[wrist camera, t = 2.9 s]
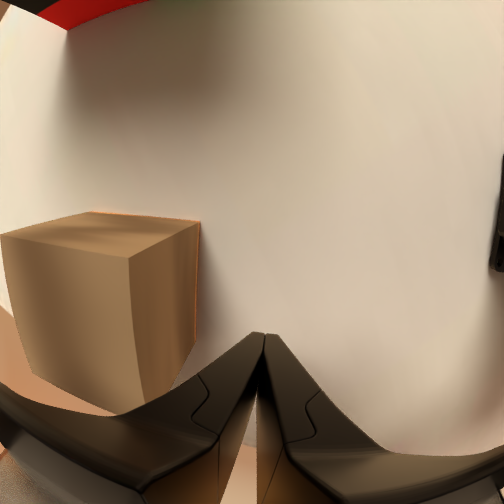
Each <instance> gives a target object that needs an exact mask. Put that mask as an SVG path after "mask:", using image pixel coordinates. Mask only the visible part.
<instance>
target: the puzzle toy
mask: <svg viewBox="0 0 504 504" xmlns="http://www.w3.org/2000/svg"><path fill="white" fill-rule="evenodd" d="M2 1H5V2H7V3H9V4H12V5H14V6H17V7H19V8H21V9H24V10H26V11H28V12H31V13H33V14H35V15H37V16H39V17H41V18H43V19H45V20H48V21H50V22H52V23H54V24H56V25H58V26H60V27H61V28H63V29H65V30H69V29H71V28H74V27H76V26H78V25H80V24H82V23H85V22H87V21H89V20H92V19H94V18H97V17H99V16H102V15H104V14H107V13H110V12H113V11H115V10H118V9H121V8H124V7H127V6H131V5H134V4H137V3H141V2H144V1H148V0H2Z"/></svg>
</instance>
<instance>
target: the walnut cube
mask: <svg viewBox="0 0 504 504" xmlns="http://www.w3.org/2000/svg"><path fill="white" fill-rule="evenodd" d="M199 229H200V221H191V220H181V219H171V218H161V217H150V216H140V215H128V214H117V213H104V212H92V211H91V212H86V213H81V214H77V215H73V216H68V217H64V218H60V219H56V220H52V221H48V222H44V223H40V224H36V225H32V226H28V227H25V228H21V229H18V230H14V231H11V232H7V233H4V234H0V240H1V249H2V257H3V265H4V271H5V277H6V283H7V288H8V293H9V298H10V302H11V306H12V311H13V315H14V318H15V321H16V326H17V329H18V333H19V336H20V339H21V342H22V345H23V348H24V351H25V354H26V357H27V360H28V363H29V365H30V368H31V370H32V372H33V373H34V374H35V375H37V376H39V377H40V378H42V379H44V380H46V381H47V382H49V383H51V384H53V385H55V386H56V387H58V388H60V389H62V390H64V391H66V392H68V393H70V394H72V395H74V396H76V397H78V398H80V399H82V400H84V401H86V402H88V403H91V404H93V405H95V406H97V407H100V408H102V409H104V410H107V411H109V412H112V413H114V414H117V415H120V414H124V413H126V412H129V411H131V410H133V409H135V408H137V407H139V406H141V405H144V404H146V403H148V402H150V401H152V400H154V399H156V398H158V397H160V396H162V395H164V394H166V393H167V392H169V390H170V388H171V386H172V384H173V382H174V381H175V379H176V377H177V375H178V373H179V371H180V369H181V368H182V366H183V364H184V362H185V360H186V358H187V356H188V355H189V353H190V351H191V349H192V347H193V345H194V344H195V342H196V294H197V267H198V246H199Z"/></svg>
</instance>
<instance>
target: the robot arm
mask: <svg viewBox="0 0 504 504" xmlns="http://www.w3.org/2000/svg"><path fill="white" fill-rule="evenodd" d="M497 261H498V263H497ZM490 266H491V268H492V269H494V270H496V271H498V272H504V156H503V179H502V192H501V201H500V210H499V217H498V223H497V229H496V235H495V240H494V245H493V250H492V255H491V259H490ZM258 381H259V382H258ZM257 388H258V389H257ZM256 394H257V398H256ZM255 398H256V423H257V504H504V496H503V494H502V492H501V489H502V488H503V487H504V445H502V446H499V447H496V448H494V449H492V450H489V451H487V452H484V453H479V454H474V455H466V456H424V455H408V454H398V453H394V452H390V451H388V450H386V449H384V448H383V447H381V446H380V445H378V444H377V443H376V442H375V441H373V440H372V439H371V438H370V437H369V436H368V435H367V434H365V433H364V432H363V431H362V430H361V429H360V428H359V427H358V426H356V425H355V424H354V423H353V422H352V421H351V420H350V419H349V418H348V417H347V416H346V415H344V414H343V413H342V412H341V411H340V410H339V409H338V408H337V407H336V405H335V404H334V403H333V402H332V401H331V400H330V399H329V398H328V396H327V395H326V394H325V393H324V391H322V389H321V388H320V387H319V386H318V384H317V383H316V382H315V381H314V379H313V378H312V377H311V376H310V374H309V373H308V372H307V371H306V369H305V368H304V367H303V366H302V364H301V363H300V362H299V361H298V359H297V358H296V357H295V356H294V354H293V353H292V352H291V351H290V349H289V348H288V347H287V346H286V344H285V343H284V342H283V340H282V339H281V338H280V337H279V335H277V334H268V333H267V334H266V335H265V334H264V333H260V332H251V333H250V334H249V335H247V336H246V337H245V338H244V339H242V340H241V341H240V342H239V343H237V344H236V345H235V346H233V347H232V348H231V349H229V350H228V351H227V352H225V353H224V354H223V355H222V356H220V357H219V358H218V359H216V360H215V361H214V362H212V363H211V364H209V365H208V366H207V367H205V368H204V369H203V370H201V371H200V372H199V373H197V374H196V375H194V376H193V377H191V378H190V379H189V380H187V381H186V382H184V383H183V384H181V385H180V386H178V387H176V388H175V389H173V390H171V391H169V392H167V393H166V394H164V395H162V396H160V397H158V398H156V399H154V400H152V401H150V402H148V403H146V404H144V405H141V406H139V407H137V408H135V409H133V410H131V411H129V412H126V413H124V414H120V415H117V416H109V417H107V416H106V417H105V416H97V415H91V414H85V413H80V412H75V411H70V410H66V409H61V408H57V407H53V406H49V405H45V404H41V403H38V402H35V401H32V400H30V399H27V398H25V397H23V396H21V395H18V394H17V393H15V392H14V391H12V390H11V389H10V388H8V387H7V386H6V385H4V384H3V383H1V382H0V442H1V444H2V445H3V446H4V448H5V449H4V451H3V452H2V453H1V454H0V504H220V502H221V500H222V497H223V494H224V492H225V489H226V486H227V483H228V480H229V478H230V475H231V472H232V469H233V466H234V463H235V460H236V458H237V455H238V452H239V448H240V446H241V443H242V440H243V437H244V434H245V431H246V427H247V424H248V421H249V418H250V415H251V412H252V409H253V405H254V402H255Z"/></svg>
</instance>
